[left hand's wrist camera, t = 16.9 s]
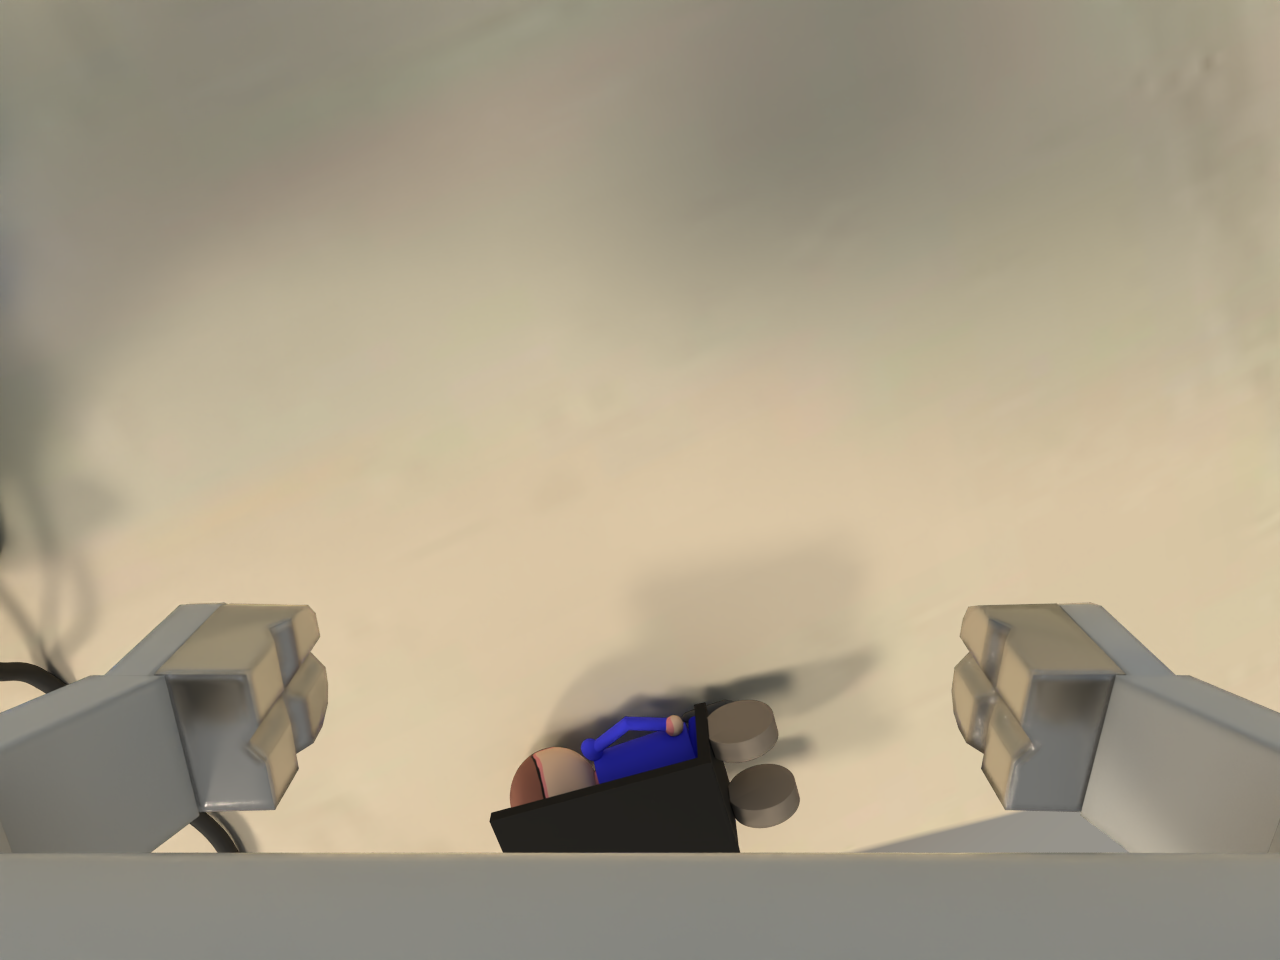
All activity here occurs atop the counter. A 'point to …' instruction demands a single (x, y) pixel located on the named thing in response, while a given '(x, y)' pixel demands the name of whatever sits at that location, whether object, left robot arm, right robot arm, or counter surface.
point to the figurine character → (651, 787)
